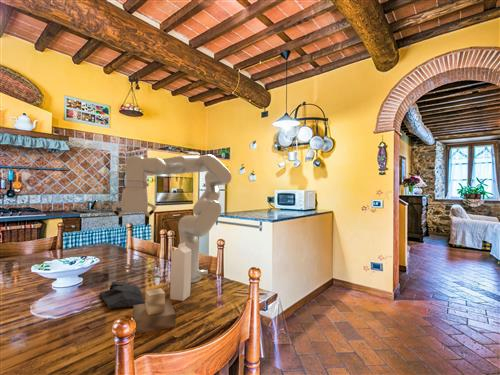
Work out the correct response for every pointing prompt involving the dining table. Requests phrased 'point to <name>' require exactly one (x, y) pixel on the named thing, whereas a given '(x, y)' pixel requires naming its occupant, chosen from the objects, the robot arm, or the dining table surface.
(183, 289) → the milk
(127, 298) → the dark slate chunk
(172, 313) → the walnut base
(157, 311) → the beech block
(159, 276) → the dining table surface
